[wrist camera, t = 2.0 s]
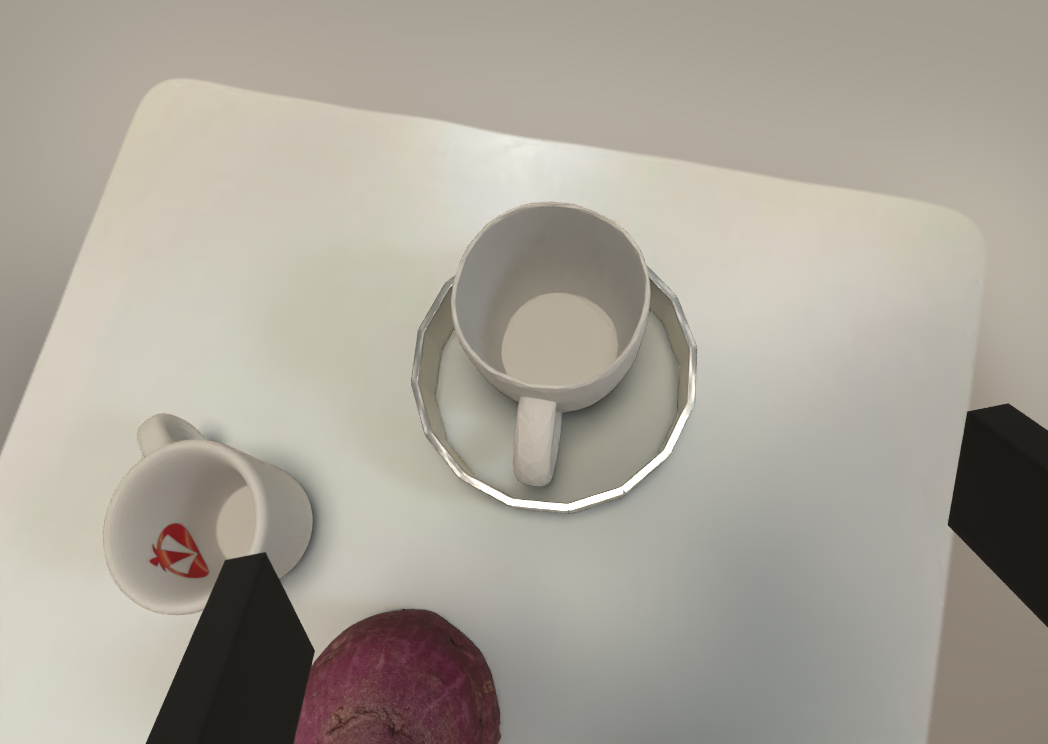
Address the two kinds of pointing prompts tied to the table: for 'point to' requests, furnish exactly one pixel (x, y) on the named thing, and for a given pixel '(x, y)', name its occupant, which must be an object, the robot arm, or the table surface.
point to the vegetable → (400, 686)
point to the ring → (424, 388)
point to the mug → (550, 317)
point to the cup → (197, 517)
